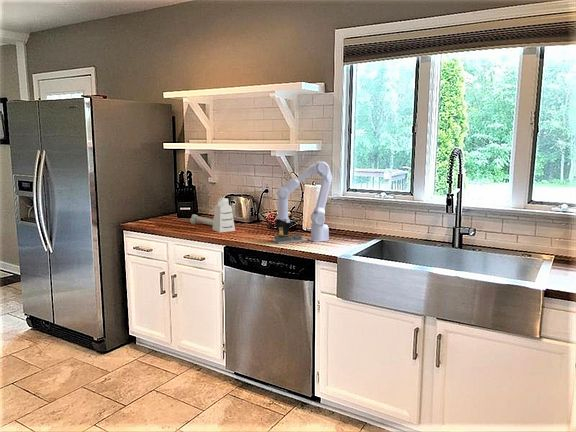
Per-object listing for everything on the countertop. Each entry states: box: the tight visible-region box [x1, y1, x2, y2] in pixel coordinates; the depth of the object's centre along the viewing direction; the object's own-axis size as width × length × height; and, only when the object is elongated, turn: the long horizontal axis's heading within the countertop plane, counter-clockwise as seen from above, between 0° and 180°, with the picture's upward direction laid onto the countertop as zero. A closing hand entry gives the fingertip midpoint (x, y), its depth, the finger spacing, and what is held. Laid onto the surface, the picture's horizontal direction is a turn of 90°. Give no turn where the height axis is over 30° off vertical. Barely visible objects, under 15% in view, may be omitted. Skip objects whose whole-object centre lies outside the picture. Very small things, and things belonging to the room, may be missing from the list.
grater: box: [212, 197, 236, 233], centre depth 297 cm, size 10×10×20 cm
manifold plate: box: [271, 233, 309, 245], centre depth 267 cm, size 18×9×3 cm, turn 114°
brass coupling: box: [278, 227, 287, 238], centre depth 264 cm, size 5×5×7 cm
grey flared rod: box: [189, 213, 214, 227], centre depth 317 cm, size 5×7×25 cm
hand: (282, 233), depth 265 cm, fingers open, 7 cm apart
